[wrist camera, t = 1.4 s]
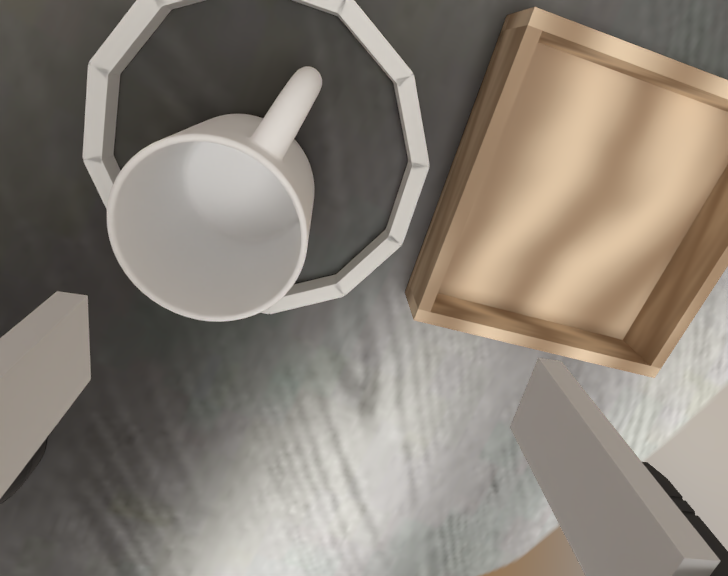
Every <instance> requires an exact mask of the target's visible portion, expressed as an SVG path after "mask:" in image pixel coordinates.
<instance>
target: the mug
mask: <svg viewBox="0 0 728 576" xmlns="http://www.w3.org/2000/svg"><path fill="white" fill-rule="evenodd" d="M321 87H322V78H321V75H320V73H319V72H318V71H317V70H316V69H315V68H312V67H302V68H300V69H298V70H297V71H296V73H295V74H294V75H293V76H292V77H291V78H290V80H289V81H288V82H287V84H286V85H285V87H284V88H283V89H282V91H281V92H280V94H279V95H278V97H277V98H276V100H275V101H274V103H273V104H272V106H271V107H270V109H269V110H268V112H267V114H266V115H265V117H264V118H261V117H258V116H253V115H249V114H226V115H222V116H217V117H214V118H212V119H209V120H206V121H204V122H202V123H199V124H197V125H194V126H192V127H190V128H187V129H185V130H183V131H180V132H178V133H175V134H173V135H171V136H168V137H166V138H163V139H161V140H159V141H156V142H154V143H152V144H150V145H149V146H147V147H145V148H143V149H142V150H141V151H139V152H138V153H137V154H136V155H134V156H133V157H132V158H131V159H130V160H129V161H128V162H127V163H126V165H125V166H124V167H123V168H122V170H121V171H120V173H119V174H118V176H117V177H116V180H115V182H114V184H113V186H112V189H111V192H110V196H109V200H108V206H107V229H108V235H109V240H110V243H111V246H112V249H113V252H114V254H115V256H116V258H117V260H118V263H119V264H120V266H121V267H122V269H123V271H124V272H125V274H126V275H127V276H128V277H129V279H130V280H131V281H132V282H133V284H134V285H135V286H136V287H137V288H138V289H139V290H140V291H141V292H142V293H144V294H145V295H146V296H148V297H149V298H150V299H151V300H153V301H154V302H156V303H157V304H159V305H161V306H162V307H164V308H166V309H168V310H170V311H172V312H174V313H177V314H180V315H183V316H185V317H189V318H193V319H197V320H204V321H219V322H223V321H233V320H238V319H243V318H247V317H250V316H253V315H255V314H258V313H260V312H262V311H264V310H266V309H268V308H269V307H271V306H272V305H274V304H275V303H276V302H278V301H279V300H280V299H281V298H282V297H283V296H284V295H285V294H286V293H287V292H288V291H289V290H290V289H291V287H292V286H293V285H294V283H295V281H296V280H297V278H298V276H299V274H300V272H301V270H302V268H303V265H304V261H305V258H306V253H307V246H308V239H309V231H310V224H311V217H312V209H313V202H314V179H313V173H312V169H311V166H310V163H309V161H308V159H307V157H306V155H305V153H304V151H303V150H302V148H301V147H300V146H299V144H298V143H297V141H296V140H295V139H294V138H295V136H296V134H297V133H298V131H299V129H300V127H301V125H302V124H303V122H304V120H305V118H306V116H307V114H308V112H309V111H310V109H311V107H312V105H313V103H314V101H315V99H316V98H317V96H318V94H319V92H320V89H321Z"/></svg>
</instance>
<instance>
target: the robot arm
mask: <svg viewBox="0 0 728 576" xmlns="http://www.w3.org/2000/svg"><path fill="white" fill-rule="evenodd" d="M90 380H91V369H90V344H89V319H88V295H80V294H73V293H66V292H59V291H57V292H56V293H54V294H53V295H52V296H51V297H49V298H48V299H47V300H46V301H45V302H43V303H42V304H41V305H40V306H39V307H37V308H36V309H35V310H34V311H33V312H31V313H30V314H29V315H28V316H27V317H25V318H24V319H23V320H22V321H20V322H19V323H18V324H17V325H16V326H14V327H13V328H12V329H11V330H10V331H8V332H7V333H6V334H5V335H4V336H2V337H1V338H0V504H2V503H3V502H4V501H6V500H7V499H8V498H10V497H11V496H12V495H13V494H14V493H15V492H16V491H17V490H18V489H19V488H20V487H21V486H22V485H23V483H24V482H25V481H26V479H27V478H28V477H29V475H30V474H31V473H32V471H33V470H34V469H35V467H36V466H37V465H38V463H39V462H40V460H41V458H42V456H43V454H44V451H45V447H46V440H47V437H48V435H49V434H50V433H51V431H52V430H53V429H54V427H55V426H56V425H57V423H58V422H59V421H60V419H61V418H62V417H63V416H64V414H65V413H66V412H67V410H68V409H69V408H70V406H71V405H72V404H73V402H74V401H75V400H76V398H77V397H78V396H79V394H80V393H81V392H82V390H83V389H84V388H85V386H86V385H87V384H88V383H89V381H90ZM510 428H511V430H512V432H513V434H514V436H515V438H516V440H517V442H518V444H519V446H520V448H521V450H522V452H523V454H524V456H525V458H526V460H527V462H528V464H529V466H530V468H531V470H532V472H533V474H534V476H535V478H536V480H537V481H538V483H539V485H540V487H541V489H542V491H543V493H544V495H545V497H546V499H547V501H548V503H549V505H550V507H551V509H552V511H553V513H554V515H555V517H556V519H557V521H558V523H559V525H560V527H561V528H562V531H563V532H564V535H565V536H566V538H567V540H568V542H569V544H570V546H571V548H572V550H573V552H574V554H575V556H576V558H577V560H578V562H579V564H580V566H581V568H582V570H583V572H584V574H585V576H728V551H727V550H726V549H725V548H724V546H722V544H721V543H720V542H719V541H718V539H717V538H716V537H715V536H714V534H713V533H712V532H711V531H710V530H709V528H708V527H707V526H706V525H705V524H704V522H703V521H702V520H701V519H700V518H699V517H698V516H695V511H694V510H693V509H692V508H691V507H690V505H689V504H688V503H687V502H686V501H683V499H682V496H681V495H680V493H679V492H678V491H677V490H676V489H675V488H674V486H673V485H672V484H671V483H670V481H668V479H667V478H666V477H664V476H663V475H662V474H661V473H660V472H658V471H657V470H656V469H655V468H653V467H652V466H651V465H650V464H648V463H647V462H641V461H640V459H639V458H638V457H637V456H636V454H635V453H634V452H633V451H632V449H631V448H630V447H629V446H628V444H627V443H626V442H625V441H624V439H623V438H622V437H621V436H620V434H619V433H618V432H617V431H616V429H615V428H614V427H613V425H612V424H611V423H610V422H609V420H608V419H607V418H606V417H605V415H604V414H603V413H602V412H601V410H600V409H599V408H598V407H597V405H596V404H595V403H594V402H593V400H592V399H591V398H590V397H589V395H588V394H587V393H586V392H585V390H584V389H583V388H582V387H581V385H580V384H579V383H578V382H577V380H576V379H575V378H574V377H573V375H572V374H571V373H570V372H569V370H568V369H567V368H566V367H565V365H564V364H563V363H562V362H561V361H557V360H550V359H542V358H538V360H537V362H536V365H535V367H534V370H533V372H532V375H531V377H530V379H529V382H528V384H527V387H526V389H525V392H524V394H523V397H522V399H521V401H520V404H519V406H518V409H517V411H516V414H515V416H514V419H513V421H512V423H511V426H510Z"/></svg>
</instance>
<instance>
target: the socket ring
mask: <svg viewBox="0 0 728 576" xmlns="http://www.w3.org/2000/svg"><path fill="white" fill-rule="evenodd" d="M202 1H206V0H136V2H135V3H134V4H133V5H132V7H131V8H130V9H129V11H128V12H127V13H126V15H125V16H124V17H123V18H122V20H121V21H120V22H119V24H118V25H117V26H116V28H115V29H114V30H113V31H112V33H111V34H110V35H109V37H108V38H107V39H106V41H105V42H104V43H103V44H102V46H101V47H100V48H99V50H98V51H97V52H96V54H95V55H94V56H93V57H92V59H91V60H90V61H89V63H90V64H88V75H87V92H86V109H85V125H84V142H83V159H84V160H83V161H84V163H85V166H86V168H87V170H88V172H89V174H90V176H91V178H92V180H93V182H94V184H95V186H96V188H97V190H98V192H99V195H100V197H101V199H102V201H103V203H104V205H105V207H106V209H107V206H108V200H109V196H110V192H111V189H112V186H113V184H114V182H115V180H116V177H117V176H118V174H119V173H120V171H121V170H120V168H119V166H118V164H117V162H116V159H115V157H114V143H115V131H116V119H117V108H118V96H119V84H120V74H121V73H122V71H123V70H124V69H125V68H126V66H127V65H128V64H129V63H130V61H131V60H132V59H133V58H134V56H135V55H136V54H137V53H138V51H139V50H140V49H141V48H142V46H143V45H144V44H145V43H146V41H147V40H148V39H149V38H150V36H151V35H152V34H153V33H154V31H155V30H156V29H157V28H158V26H159V25H160V24H161V23H162V21H163V20H164V19H165V18H166V16H167V15H168V14H169V13H170V11H171V10H172V9H176V8H180V7H183V6H187V5H191V4H194V3H198V2H202ZM292 1H295V2H298V3H301V4H304V5H307V6H309V7H312V8H315V9H318V10H321V11H324V12H327V13H330V14H332V15H335V16H338V17H339V18H340V20H341V21H342V22H343V23H344V24H345V26H346V27H347V28H348V29H349V30H350V32H351V33H352V34H353V35H354V36H355V37H356V39H357V40H358V41H359V42H360V43H361V45H362V46H363V47H364V48H365V49H366V51H367V52H368V53H369V54H370V55H371V57H372V58H373V59H374V60H375V61H376V63H377V64H378V65H379V66H380V67H381V69H382V70H383V71H384V72H385V73H386V75H387V76H388V77H389V78H390V79H391V81H392V82H393V83H394V89H395V94H396V99H397V104H398V110H399V115H400V120H401V125H402V131H403V136H404V141H405V146H406V151H407V157H408V163H407V166H406V170H405V173H404V176H403V179H402V182H401V185H400V188H399V191H398V194H397V197H396V200H395V203H394V206H393V209H392V212H391V215H390V218H389V221H388V224H387V227H386V229H385V230H384V231H383V232H382V233H381V234H380V235H379V236H378V237H377V238H376V239H374V240H373V241H372V242H371V243H370V244H369V245H368V246H367V247H366V248H365V249H363V250H362V251H361V252H360V253H359V254H358V255H357V256H356V257H355V258H354V259H352V260H351V261H350V262H349V263H348V264H347V265H346V266H345V267H344V268H343V269H341V270H340V271H339V272H338V273H337V274H335V275H331V276H327V277H323V278H319V279H315V280H310V281H306V282H302V283H298V284H294V285H293V286H292V287H291V289H290V290H289V291H288V292H287V293H286V294H285V295H284V296H283V297H282V298H281V299H280V300H279V301H278V302H276V303H275V304H274V305H272V306H271V307H269V308H268V309H266V310H264V311H262V312H261V313H266V314H269V313H270V314H273V313H277V312H281V311H286V310H290V309H294V308H298V307H302V306H306V305H311V304H315V303H319V302H323V301H327V300H332V299H336V298H340V297H344V296H345V295H346V294H348V293H349V292H350V291H351V290H352V289H353V288H354V287H355V286H357V285H358V284H359V283H360V282H361V281H362V280H363V279H364V278H366V277H367V276H368V275H369V274H370V273H371V272H372V271H373V270H375V269H376V268H377V267H378V266H379V265H380V264H381V263H382V262H384V261H385V260H386V259H387V258H388V257H389V256H390V255H391V254H393V253H394V252H395V251H396V250H397V249H398V248H399V247H401V246H402V245H401V244H403V241H404V238H405V235H406V233H407V230H408V227H409V224H410V221H411V218H412V215H413V213H414V210H415V207H416V204H417V201H418V198H419V195H420V193H421V190H422V187H423V184H424V181H425V178H426V175H427V173H428V170H429V159H428V153H427V147H426V142H425V136H424V130H423V124H422V118H421V113H420V107H419V101H418V95H417V90H416V84H415V78H414V75H412V74H413V72H412V71H411V70H410V68H409V67H408V66H407V65H406V64H405V62H404V61H403V60H402V59H401V57H400V56H399V55H398V54H397V52H396V51H395V50H394V49H393V48H392V46H391V45H390V44H389V43H388V41H387V40H386V39H385V38H384V36H383V35H382V34H381V33H380V32H379V30H378V29H377V28H376V27H375V25H374V24H373V23H372V22H371V20H370V19H369V18H368V17H367V15H366V14H365V13H364V12H363V11H362V9H361V8H360V7H359V6H358V4H357V3H356V2H355V1H354V0H292ZM343 295H344V296H343Z"/></svg>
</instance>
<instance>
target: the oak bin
mask: <svg viewBox="0 0 728 576" xmlns="http://www.w3.org/2000/svg"><path fill="white" fill-rule="evenodd" d="M727 266H728V80H726V79H723V78H720V77H718V76H715V75H713V74H710V73H707V72H705V71H702V70H699V69H697V68H694V67H692V66H689V65H686V64H684V63H681V62H678V61H676V60H673V59H671V58H668V57H665V56H663V55H660V54H657V53H655V52H652V51H650V50H647V49H644V48H642V47H639V46H636V45H634V44H631V43H629V42H626V41H623V40H621V39H618V38H615V37H613V36H610V35H608V34H605V33H602V32H600V31H597V30H594V29H592V28H589V27H587V26H584V25H581V24H579V23H576V22H573V21H571V20H568V19H566V18H563V17H560V16H558V15H555V14H552V13H550V12H547V11H545V10H542V9H539V8H537V7H533V8H529V9H526V10H523V11H519V12H516V13H513V14H509V15H507V16H506V19H505V22H504V24H503V27H502V30H501V33H500V35H499V38H498V41H497V43H496V46H495V49H494V52H493V54H492V57H491V60H490V63H489V65H488V68H487V71H486V73H485V76H484V79H483V82H482V84H481V87H480V90H479V92H478V95H477V98H476V101H475V103H474V106H473V109H472V111H471V114H470V117H469V120H468V122H467V125H466V128H465V130H464V133H463V136H462V139H461V141H460V144H459V147H458V149H457V152H456V155H455V158H454V160H453V163H452V166H451V169H450V171H449V174H448V177H447V179H446V182H445V185H444V188H443V190H442V193H441V196H440V198H439V201H438V204H437V207H436V209H435V212H434V215H433V217H432V220H431V223H430V226H429V228H428V231H427V234H426V236H425V239H424V242H423V245H422V247H421V250H420V253H419V255H418V258H417V261H416V264H415V266H414V269H413V272H412V274H411V277H410V280H409V283H408V285H407V288H406V291H405V295H406V298H407V301H408V304H409V307H410V310H411V313H412V316H413V319H414V320H415V321H419V322H424V323H428V324H432V325H436V326H440V327H444V328H449V329H453V330H457V331H461V332H465V333H469V334H474V335H478V336H482V337H486V338H490V339H494V340H499V341H503V342H507V343H511V344H515V345H519V346H524V347H528V348H532V349H536V350H540V351H544V352H549V353H553V354H557V355H561V356H565V357H569V358H574V359H578V360H582V361H586V362H590V363H594V364H599V365H603V366H607V367H611V368H615V369H619V370H624V371H628V372H632V373H636V374H640V375H644V376H649V377H653V378H655V377H656V375H657V373H658V372H659V370H660V369H661V367H662V366H663V364H664V363H665V361H666V360H667V358H668V357H669V355H670V354H671V352H672V350H673V349H674V347H675V346H676V344H677V343H678V341H679V340H680V338H681V337H682V335H683V334H684V332H685V331H686V329H687V328H688V326H689V324H690V323H691V321H692V320H693V318H694V317H695V315H696V314H697V312H698V311H699V309H700V308H701V306H702V305H703V303H704V301H705V300H706V298H707V297H708V295H709V294H710V292H711V291H712V289H713V288H714V286H715V285H716V283H717V282H718V280H719V278H720V277H721V275H722V274H723V272H724V271H725V269H726V268H727Z"/></svg>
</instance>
